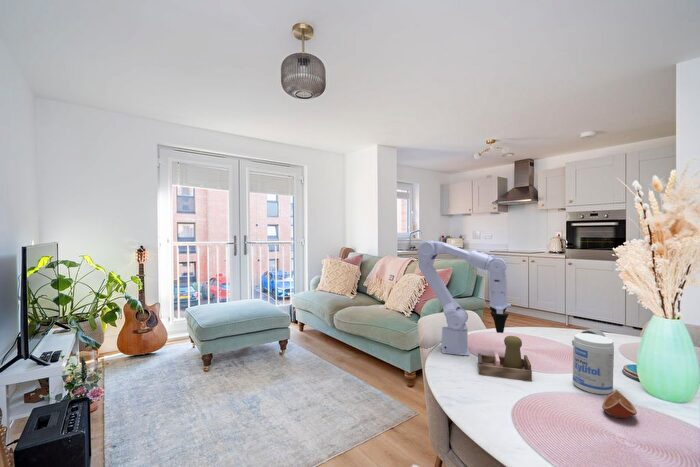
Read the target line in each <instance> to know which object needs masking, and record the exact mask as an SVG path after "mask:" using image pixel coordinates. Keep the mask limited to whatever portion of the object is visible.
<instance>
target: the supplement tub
mask: <svg viewBox="0 0 700 467" xmlns="http://www.w3.org/2000/svg"><path fill="white" fill-rule="evenodd" d="M573 340H574V344H573V343H572V346H573V347H572V348H573V352H572V354H573V355H572V383H573V384H574V386H576V387H577V388H578V389H581V391H584V392H588V393H591V394H596V395H609V394H611V393H612V392H614V391H613V390H614V367H615V366H614V360H615V358H614V356H615V345H614V340H613V339H611V338H609V337H607V336H606V337H604V336H601V335H596V334H589V333H581V332H579V333H575V334H574V338H573Z"/></svg>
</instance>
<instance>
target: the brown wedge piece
mask: <svg viewBox="0 0 700 467" xmlns="http://www.w3.org/2000/svg"><path fill="white" fill-rule="evenodd" d="M601 408H602V410H603V411H605V412H606V414H608V415H610V416H612V417H614V418H620V419H624V418H631V417H633V416H636V415H637V414H638V412H637V410H636V407H635V405H634V404H633V403H632V402H631V401H630V400H628V398H627V397H626V396H625V395H623V394H622V393H621V392H620V391H619V390H618V389H616V390H614V391H612V392H611V393H609V394H607V396H606V397H605V399H604V401H603V403H602V406H601Z"/></svg>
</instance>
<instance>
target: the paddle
mask: <svg viewBox="0 0 700 467" xmlns="http://www.w3.org/2000/svg"><path fill="white" fill-rule="evenodd" d="M494 356H495V366H498V367H500V360H499V356H500V355H499V353H498V352H494Z"/></svg>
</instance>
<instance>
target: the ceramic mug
mask: <svg viewBox="0 0 700 467" xmlns="http://www.w3.org/2000/svg"><path fill="white" fill-rule="evenodd" d="M580 333H589V334H596V335H601V336H604V337H607V336H606V335H605V333H604V332H603V331H602V330H600V329H597V328H589V329H585V330H582V331H581V332H580ZM571 343H572V345H573V344H574V339H573V340H571Z"/></svg>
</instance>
